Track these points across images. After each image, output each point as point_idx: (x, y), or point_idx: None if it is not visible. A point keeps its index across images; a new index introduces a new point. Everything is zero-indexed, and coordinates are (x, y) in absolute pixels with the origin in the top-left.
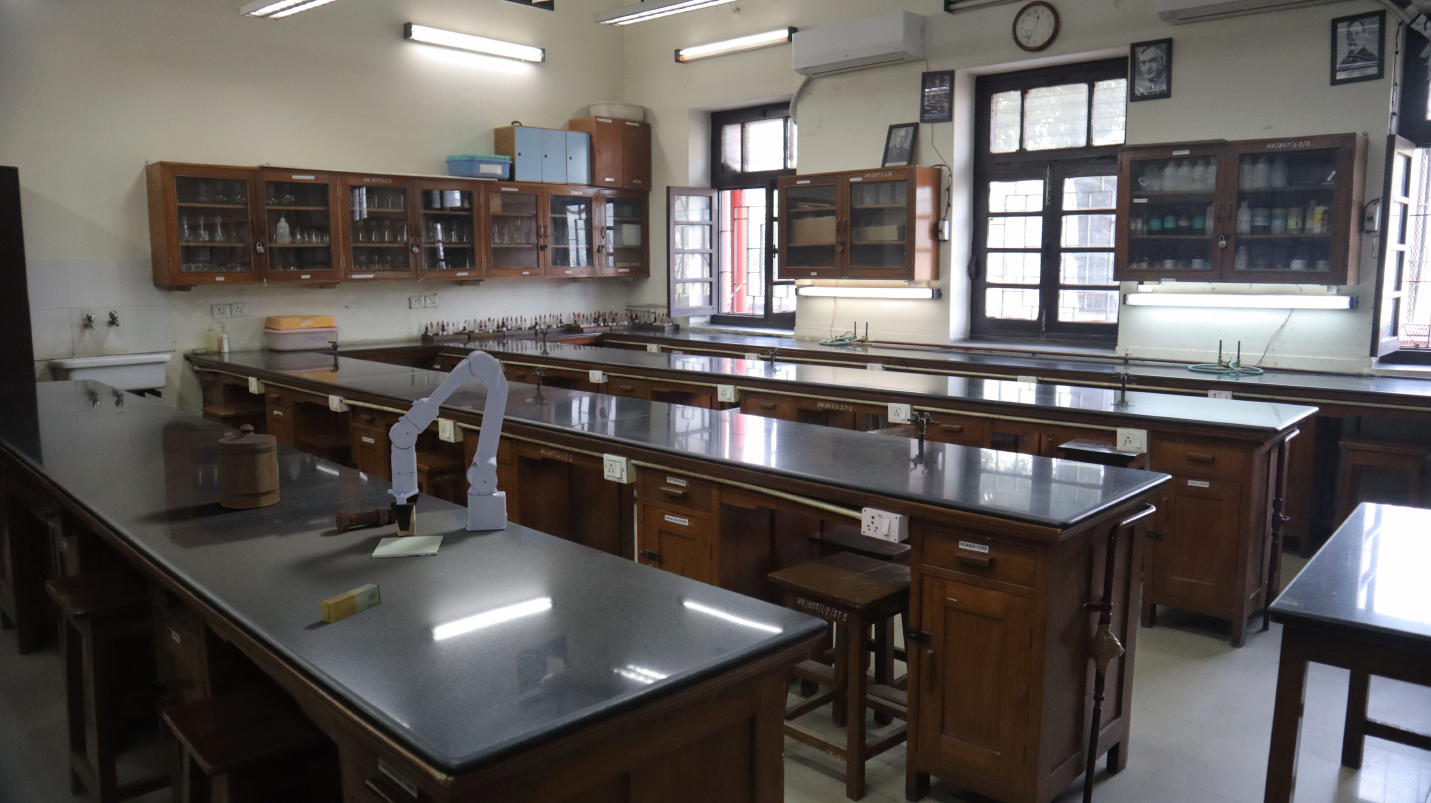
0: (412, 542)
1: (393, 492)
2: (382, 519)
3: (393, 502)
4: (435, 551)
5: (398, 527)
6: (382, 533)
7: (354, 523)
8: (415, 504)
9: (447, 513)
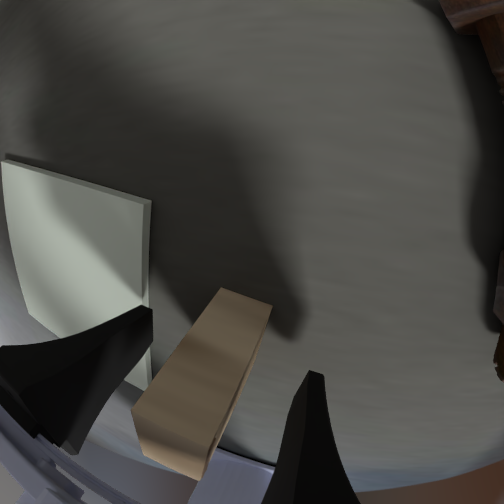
0: (82, 299)
1: (15, 478)
2: (497, 281)
3: (15, 395)
4: (32, 314)
5: (200, 318)
6: (310, 223)
7: (494, 73)
8: (267, 490)
9: (452, 459)
